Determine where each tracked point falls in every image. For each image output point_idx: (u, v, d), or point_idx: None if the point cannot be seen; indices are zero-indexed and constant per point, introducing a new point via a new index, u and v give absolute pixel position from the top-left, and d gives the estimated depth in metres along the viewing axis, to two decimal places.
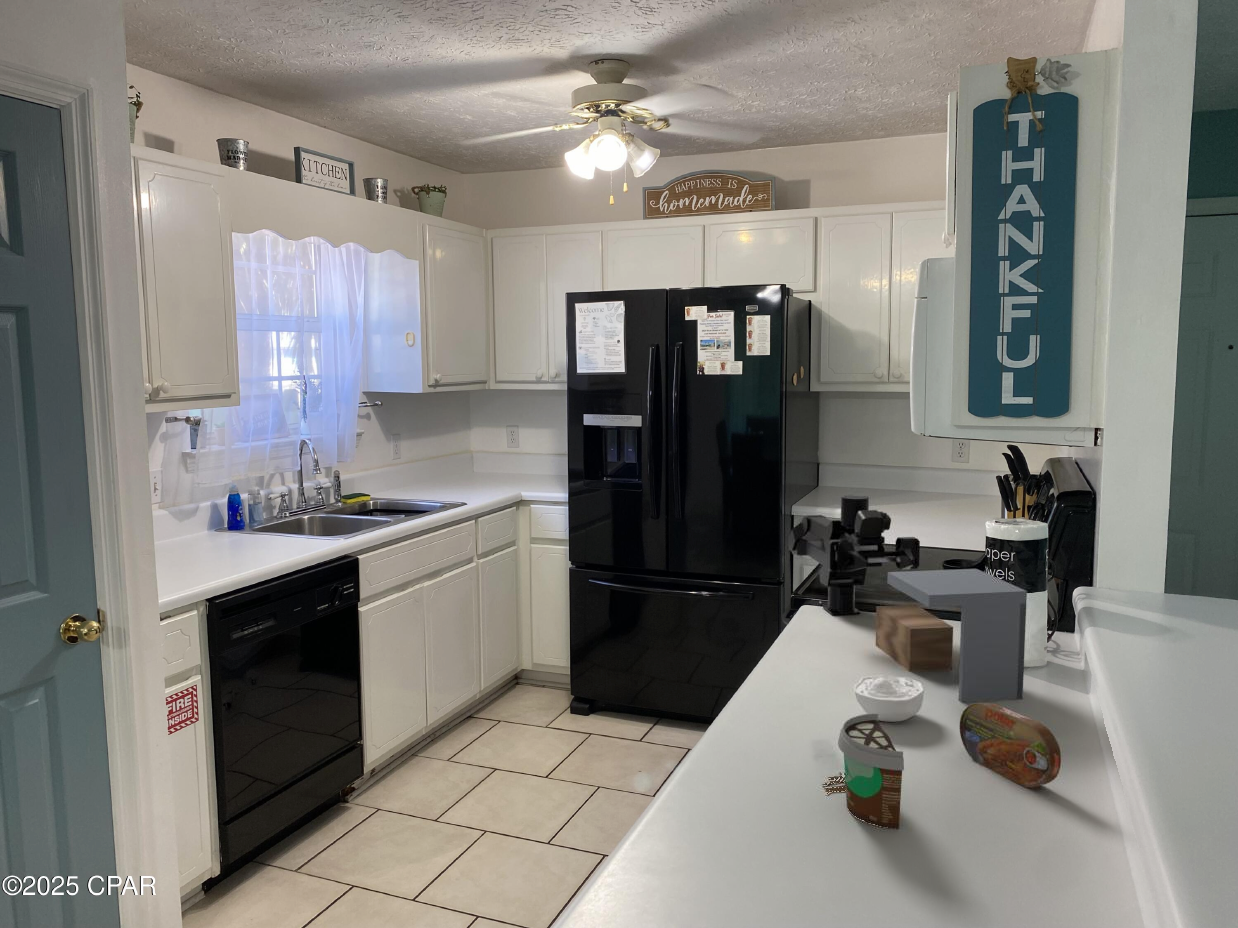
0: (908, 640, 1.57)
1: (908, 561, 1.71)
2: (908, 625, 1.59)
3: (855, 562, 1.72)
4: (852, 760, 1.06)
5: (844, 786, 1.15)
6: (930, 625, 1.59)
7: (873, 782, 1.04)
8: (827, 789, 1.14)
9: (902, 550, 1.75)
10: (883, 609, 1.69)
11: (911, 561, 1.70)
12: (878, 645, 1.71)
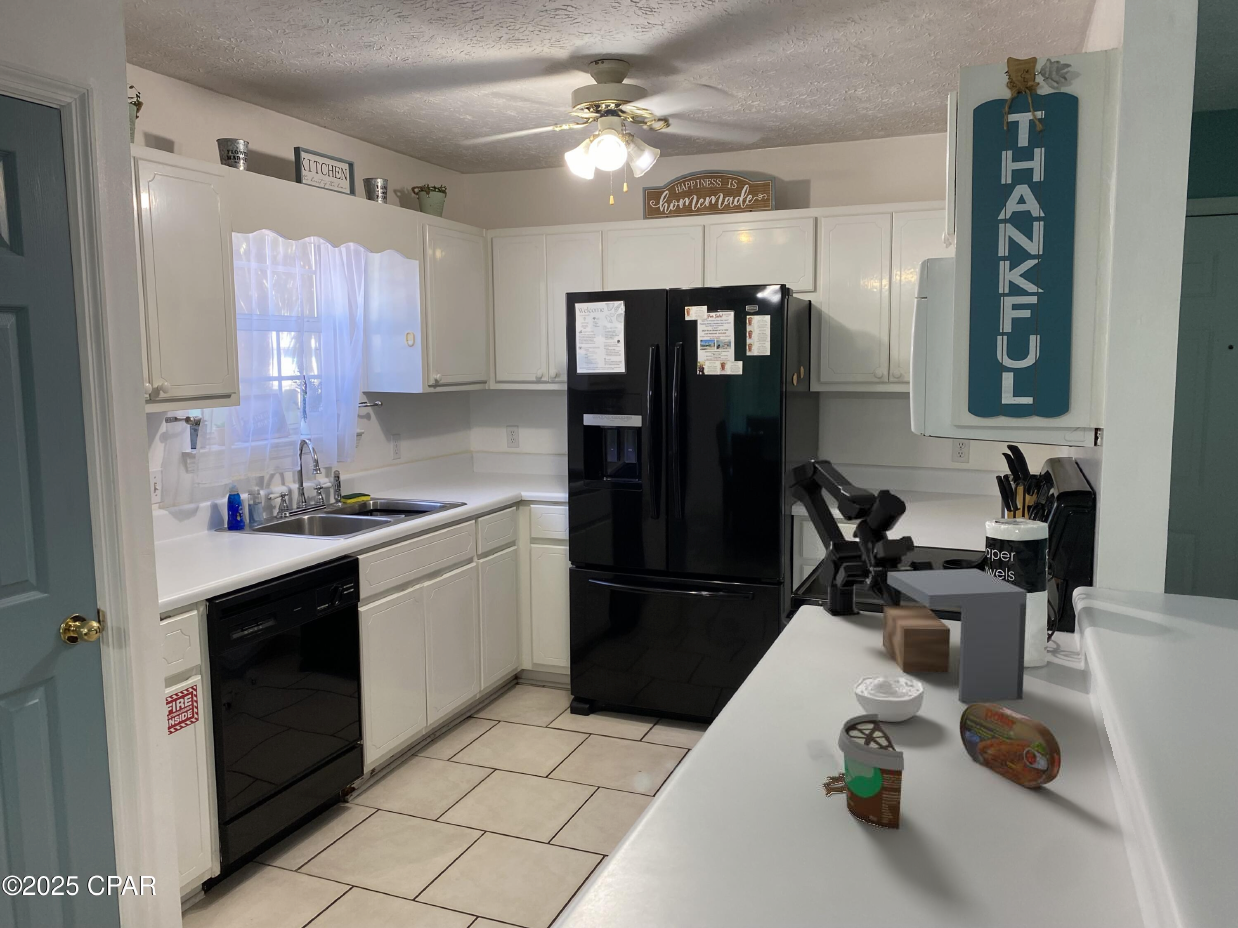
0: (903, 640, 1.57)
1: None
2: (904, 625, 1.58)
3: (885, 598, 1.74)
4: (852, 760, 1.06)
5: (844, 786, 1.15)
6: (927, 626, 1.58)
7: (873, 782, 1.04)
8: (827, 789, 1.14)
9: None
10: (888, 609, 1.69)
11: None
12: (884, 645, 1.71)
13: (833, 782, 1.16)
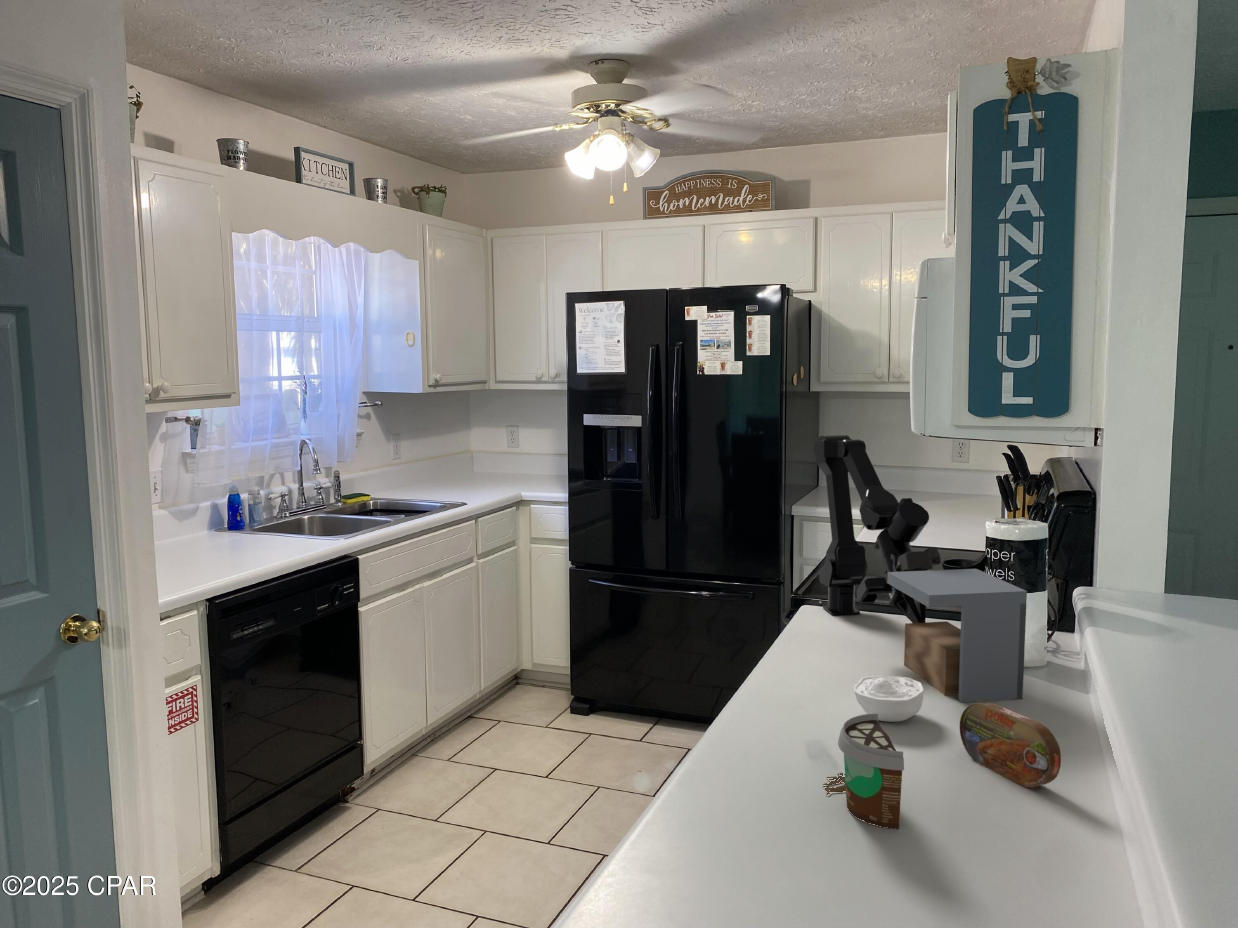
0: (944, 662, 1.46)
1: None
2: (943, 645, 1.47)
3: (909, 614, 1.63)
4: (852, 760, 1.06)
5: (844, 786, 1.15)
6: None
7: (873, 782, 1.04)
8: (828, 790, 1.14)
9: None
10: (913, 627, 1.58)
11: None
12: (907, 665, 1.59)
13: (833, 782, 1.16)
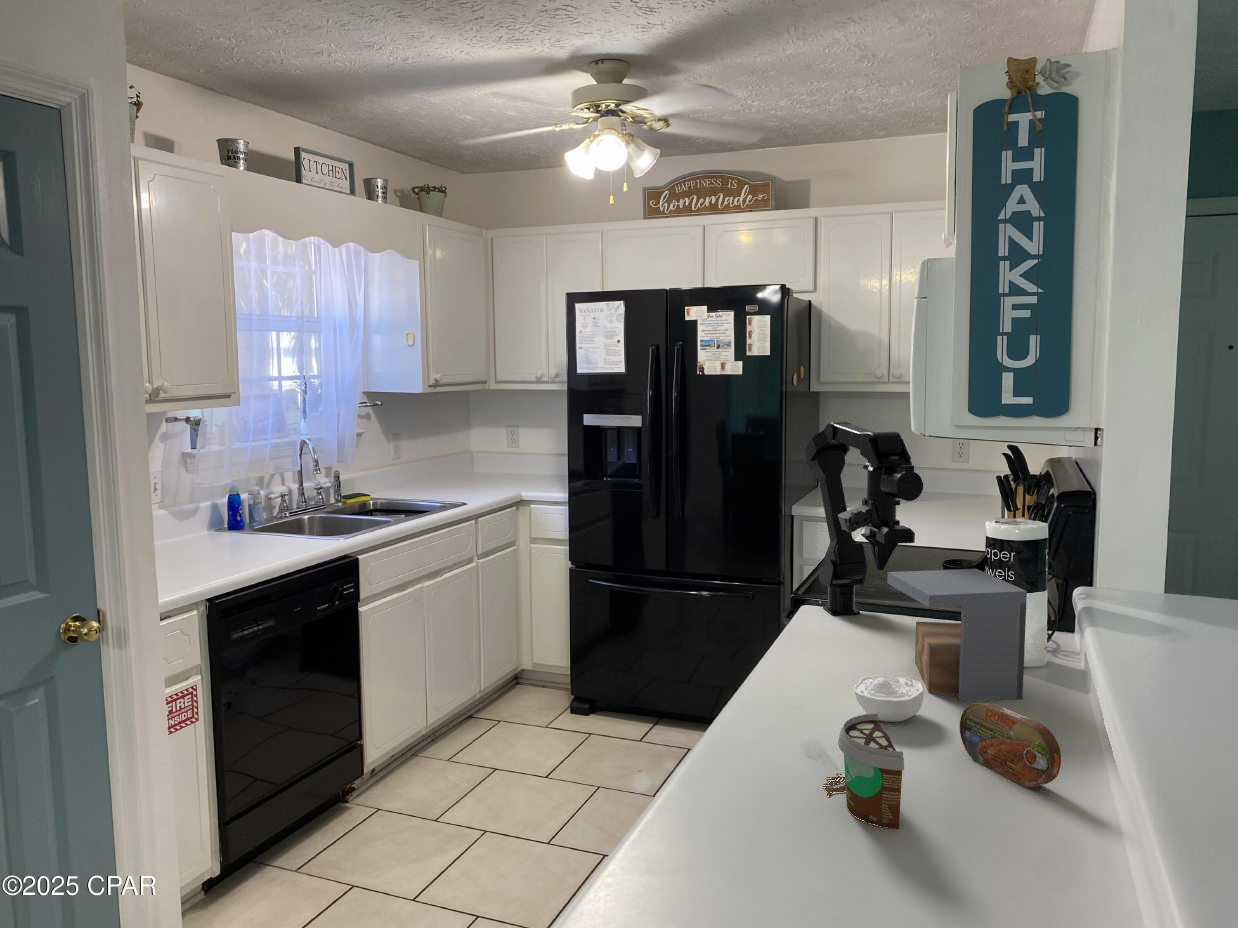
0: (928, 659, 1.47)
1: None
2: (931, 643, 1.48)
3: None
4: (852, 760, 1.06)
5: (844, 786, 1.14)
6: (956, 645, 1.47)
7: (873, 782, 1.04)
8: (828, 790, 1.14)
9: None
10: (920, 625, 1.59)
11: None
12: (916, 663, 1.61)
13: (833, 783, 1.16)
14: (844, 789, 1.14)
